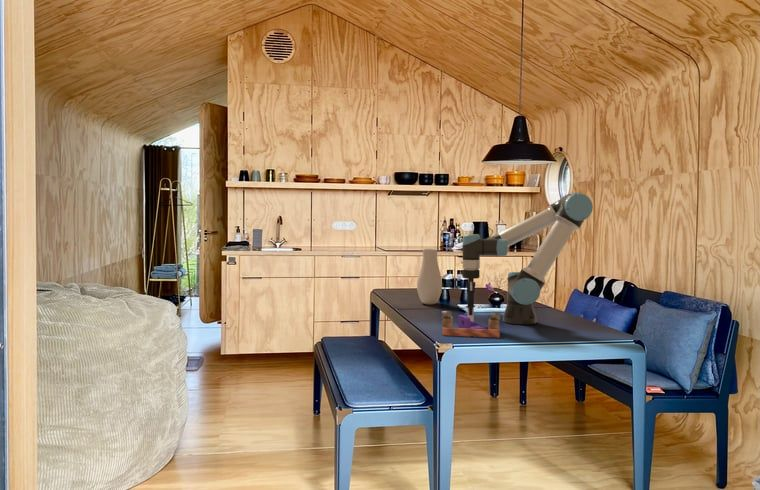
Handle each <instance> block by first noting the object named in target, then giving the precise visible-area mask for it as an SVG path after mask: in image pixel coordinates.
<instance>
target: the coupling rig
mask: <svg viewBox="0 0 760 490" xmlns="http://www.w3.org/2000/svg"><path fill="white" fill-rule="evenodd" d="M489 315H490V316H489V317H488V324H487V327H488V329H465V328H458V327H453V324H454V323H453V322H454V319H453V316H452V311H451V310H450V311H449V310H442V311H441V318H442V328H441V329H442V330H441V331H442V333H441V335H442V336H453V337H455V336H456V337H471V336H473V337H472V338H474V337H476V338H479V337H480V338H499V339H500V335H501V333H500V332H501V330H500V320H501V312H489Z"/></svg>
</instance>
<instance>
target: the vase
mask: <svg viewBox="0 0 760 490" xmlns="http://www.w3.org/2000/svg"><path fill="white" fill-rule="evenodd" d="M416 290H417V295H418V297H419V300H420V301H421V303H422V304H425V305H435V304H437V303H438V301H439V299H440V297H441V294H442V292H443V291H442V290H443V281H442V274H441V271H440V267H439V261H438V249H437V248H423V249H422V261H421V265H420V268H419V272H418V277H417V280H416Z"/></svg>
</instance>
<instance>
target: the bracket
mask: <svg viewBox="0 0 760 490" xmlns="http://www.w3.org/2000/svg"><path fill="white" fill-rule="evenodd" d="M457 323H458V327H457V328H465V329H488V326H484V325H481V324H479V323H477V322H475V321H474V322H472V321H471V320H470V318H469V317H467V316H466V315H464V314H459V315H458V321H457Z"/></svg>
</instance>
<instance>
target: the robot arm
mask: <svg viewBox="0 0 760 490" xmlns="http://www.w3.org/2000/svg"><path fill="white" fill-rule="evenodd" d="M593 207H594V206H593V202H592V200H591V198H590V196H588V195H586V194H585V193H583V192H573V193H568V194H566V195H564V196H562V197H561V198H560V199H558V200H556V201H555V202H553V203H552V204H549V205H548V207H547V208H546V209H544V210H542V211H540V212H537V213H536V214H534V215H532V216H530V217H528V218H526V219H524V220H522V221H520V222H517V224H514V225H512V226H511V227H508V228H507V229H504V230H502V231H500V232H498V233H497V234H495V235H492V236H490V237H486V238H481V235H480V234H478V233H475V234H473V233H469V234H468V233H467V234H464V235H463V237H462V260H461V262H460V263H461V264H462V274H461V276H462V278H463V279H467V281H466V284H465V285H466V292H467V304H466V306H465V307H466V308H467V309H466V310H467V314H466V315H467V317H469V318H470V320H471V321H472V322H474V323H475V320H474V317H475V315H474V314H475V313H474V312H475V311H474V310H475V308H476V305H475V304H474V303H475V300H474V299H475V292H476V281H474V279H475V280H476V279H479V278H480V276H481V275H480V273H481V272H480V268H481V265H480V264H481V257H483V256H484V257H488V256H489V257H505V256H507V255H508V250H509V249H508V248H509V247H510V246H512V245H515V244H516V243H518V242H520V241H524V240H525V239H526V238H529V237H531V236H533V235H535V234H537V233H539V232H541V231H543V230H545V229H547V228H549V227H551V228H550V229H549V231H548V233H547V234H546V235H545V237H544V240H543V241H542V242H541V244H540V245H539V247H538V249H537V250H536V252H535V254H534V255H533V257H532V258H531V260H530V262H529V263H528V265H527V266H526V267H524V268H523V267H522V268H521V270H520V271H512V272H508V274H507V278H506V279H507V290H506V293H507V295H506V296H507V297H506V298H507V299H506V307H505V309H504V312H503V315H502V322H504V323H507V324H511V325H512V324H513V325H535V324H536V323H537V315H536V311H535V308H534V303H536V302H537V300H538V299H539V297H540V295H541V292H542V291H541V290H543V289H542V288H543V287H544V285H545V284H546V279H545V277H546V275H548V273H549V271H550V269H551V267H552V265H554V263H555V261H556V259H557V258H558V256H559V254H560V253H561V252H562V250H563V249H564V247H565V245H566V243H567V242H568V240H569V239H570V236H571V235H572V234H573V233H574V231H575V230H579V229H580V228H581V226H582V225H583V223H584V221H585V220H587V219H588V218H589V217H590V216H591V214H592V213H593V209H594V208H593Z"/></svg>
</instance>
